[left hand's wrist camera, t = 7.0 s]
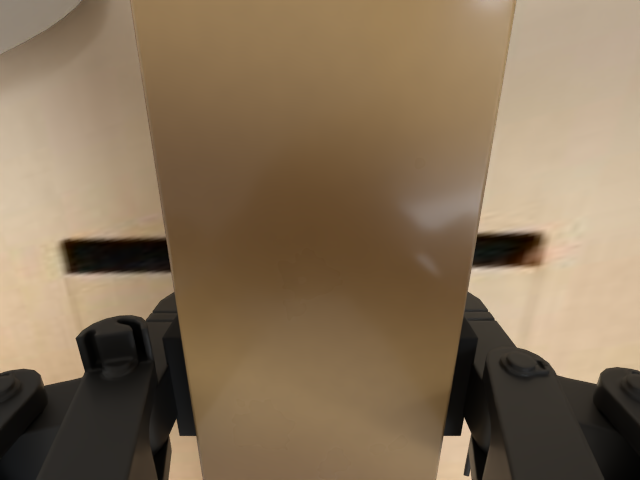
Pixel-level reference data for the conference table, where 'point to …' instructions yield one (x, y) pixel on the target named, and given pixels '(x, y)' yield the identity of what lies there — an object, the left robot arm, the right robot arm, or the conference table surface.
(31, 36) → the projector
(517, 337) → the conference table surface
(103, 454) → the left robot arm
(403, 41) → the bar
